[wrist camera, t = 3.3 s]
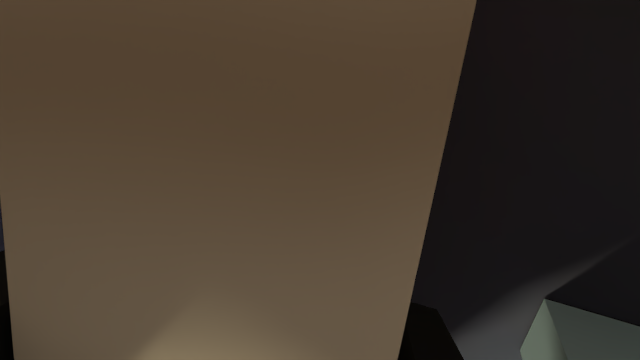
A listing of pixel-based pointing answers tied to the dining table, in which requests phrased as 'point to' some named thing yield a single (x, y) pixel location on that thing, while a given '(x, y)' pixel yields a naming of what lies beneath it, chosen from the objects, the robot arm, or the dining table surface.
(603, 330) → the bracket
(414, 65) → the tan rectangular block
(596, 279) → the dining table surface
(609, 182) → the dining table surface
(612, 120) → the dining table surface
